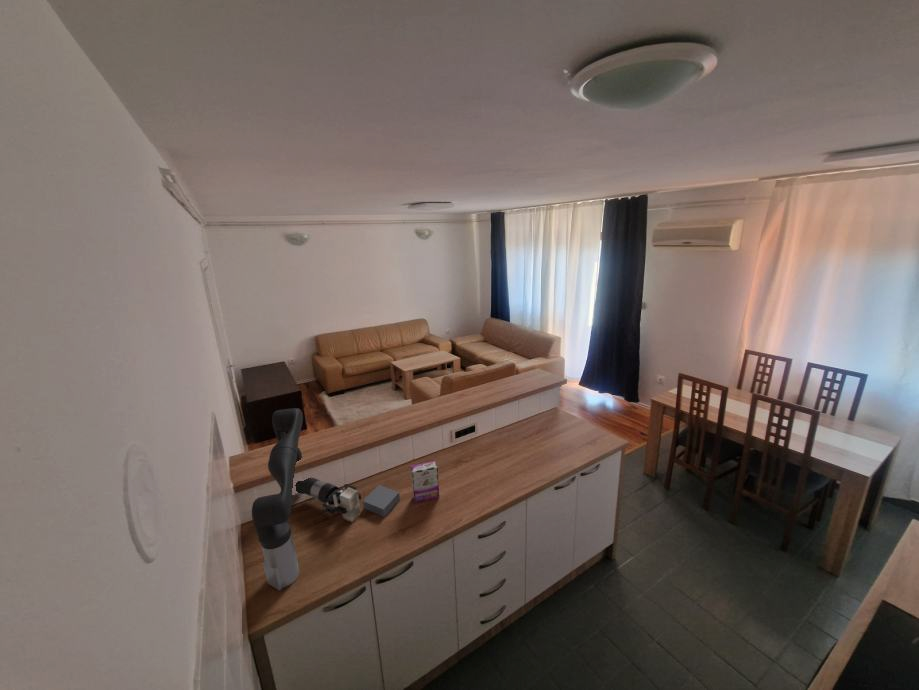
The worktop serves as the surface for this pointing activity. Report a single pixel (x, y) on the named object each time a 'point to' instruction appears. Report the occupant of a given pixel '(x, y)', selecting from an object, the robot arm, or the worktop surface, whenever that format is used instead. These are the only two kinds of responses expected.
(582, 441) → the worktop surface
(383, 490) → the charcoal plinth
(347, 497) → the cream block
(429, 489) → the candy bar box
